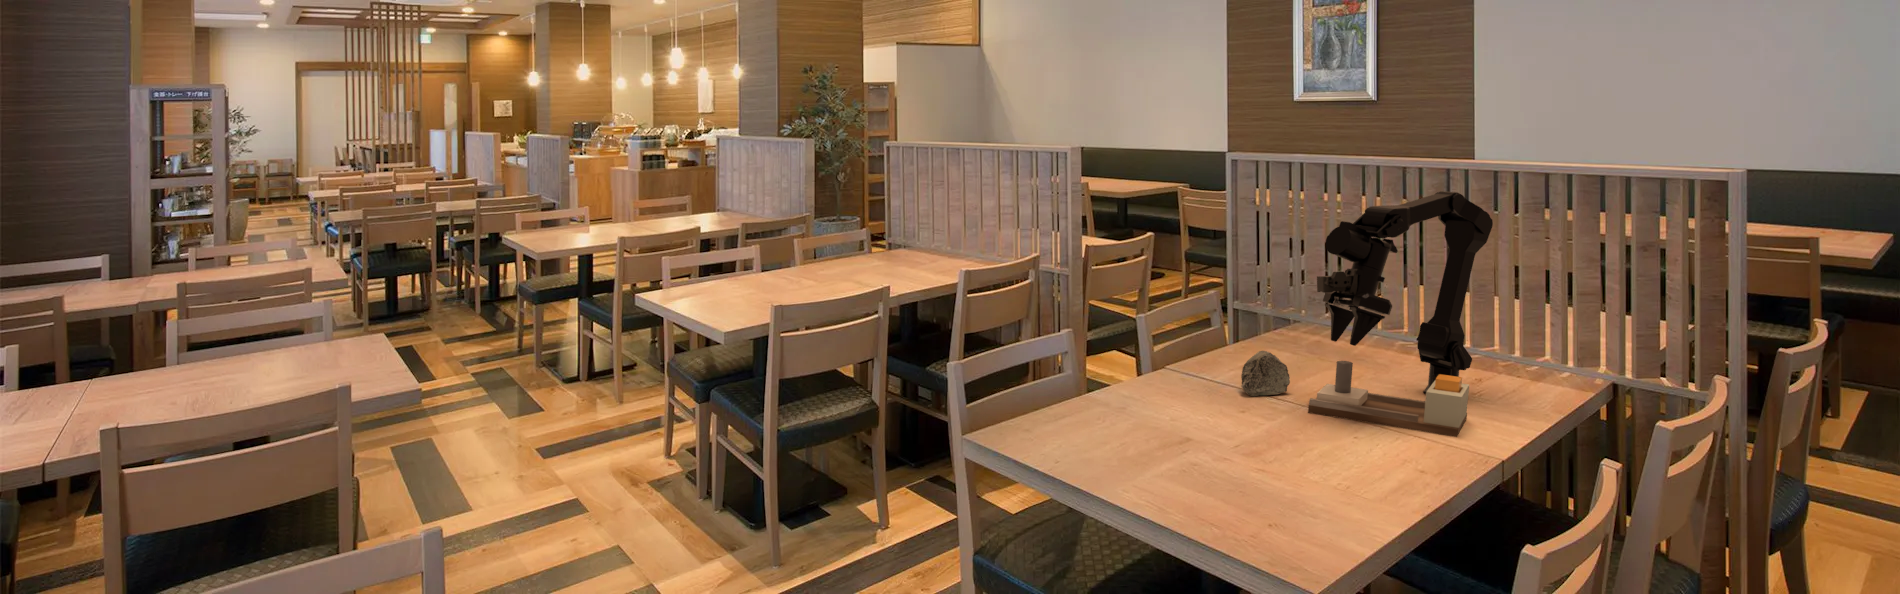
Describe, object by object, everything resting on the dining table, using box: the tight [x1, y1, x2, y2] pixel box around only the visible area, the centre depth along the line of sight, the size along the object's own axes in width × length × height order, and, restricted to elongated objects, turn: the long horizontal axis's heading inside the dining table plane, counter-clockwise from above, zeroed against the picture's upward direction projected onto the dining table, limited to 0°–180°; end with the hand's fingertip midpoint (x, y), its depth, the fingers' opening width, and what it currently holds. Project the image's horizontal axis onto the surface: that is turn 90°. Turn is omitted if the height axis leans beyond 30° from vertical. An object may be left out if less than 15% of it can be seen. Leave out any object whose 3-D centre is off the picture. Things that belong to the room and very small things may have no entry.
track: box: [1307, 392, 1468, 438], centre depth 193 cm, size 12×27×3 cm, turn 55°
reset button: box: [1435, 374, 1463, 393], centre depth 186 cm, size 4×4×5 cm
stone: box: [1240, 350, 1291, 397], centre depth 210 cm, size 10×10×10 cm
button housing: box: [1424, 380, 1470, 428], centre depth 186 cm, size 10×6×6 cm, turn 145°
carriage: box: [1316, 360, 1369, 406], centre depth 197 cm, size 8×8×8 cm
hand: (1342, 343), depth 194 cm, fingers open, 9 cm apart
